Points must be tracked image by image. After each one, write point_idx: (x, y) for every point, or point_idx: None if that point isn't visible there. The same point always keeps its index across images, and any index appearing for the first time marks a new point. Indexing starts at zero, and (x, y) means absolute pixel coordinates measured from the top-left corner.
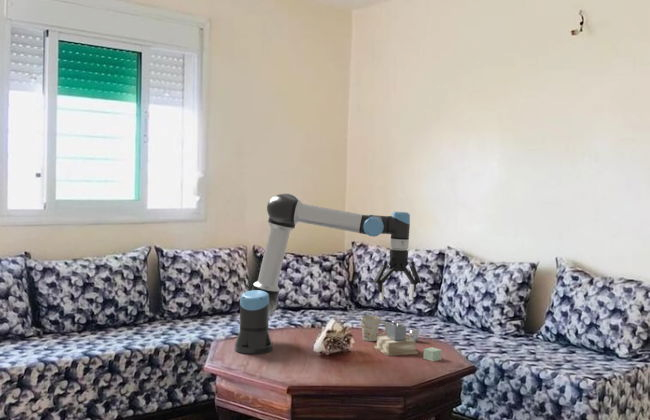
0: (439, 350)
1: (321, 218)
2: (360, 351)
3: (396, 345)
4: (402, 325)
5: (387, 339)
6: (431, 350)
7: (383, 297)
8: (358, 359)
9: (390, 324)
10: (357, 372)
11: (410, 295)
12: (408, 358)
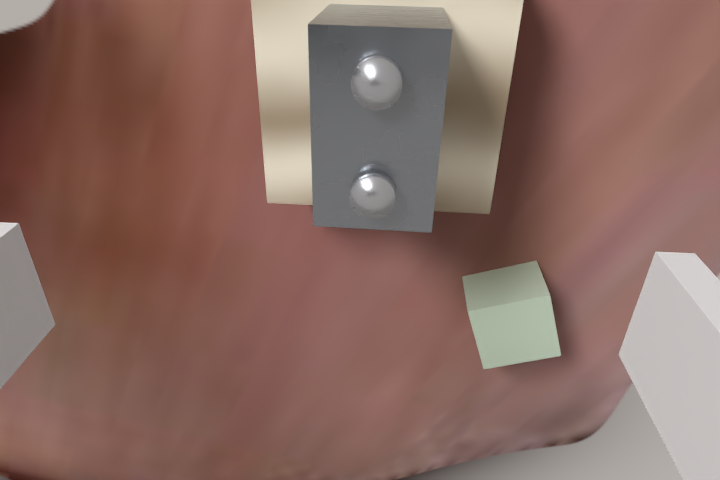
0: (541, 358)
1: None
2: (120, 21)
3: None
4: (414, 192)
5: (298, 100)
6: (491, 349)
7: (14, 364)
8: (76, 197)
9: (310, 118)
10: (44, 369)
11: (673, 370)
12: (375, 255)
